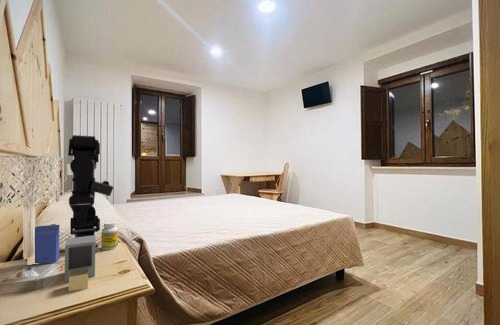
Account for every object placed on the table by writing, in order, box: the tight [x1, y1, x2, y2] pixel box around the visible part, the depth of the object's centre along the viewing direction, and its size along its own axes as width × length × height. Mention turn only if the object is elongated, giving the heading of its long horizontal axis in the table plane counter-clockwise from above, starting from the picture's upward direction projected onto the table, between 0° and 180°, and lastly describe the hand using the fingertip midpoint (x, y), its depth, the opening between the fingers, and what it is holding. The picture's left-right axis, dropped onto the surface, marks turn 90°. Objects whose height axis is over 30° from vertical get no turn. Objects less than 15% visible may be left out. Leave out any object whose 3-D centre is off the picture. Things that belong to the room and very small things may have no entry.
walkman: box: [34, 223, 60, 264], centre depth 80 cm, size 8×3×12 cm, turn 111°
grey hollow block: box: [64, 235, 96, 283], centre depth 72 cm, size 7×7×10 cm
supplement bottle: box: [101, 221, 119, 251], centre depth 94 cm, size 5×5×10 cm
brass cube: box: [68, 268, 89, 293], centre depth 65 cm, size 4×4×4 cm
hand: (83, 222), depth 80 cm, fingers open, 9 cm apart
